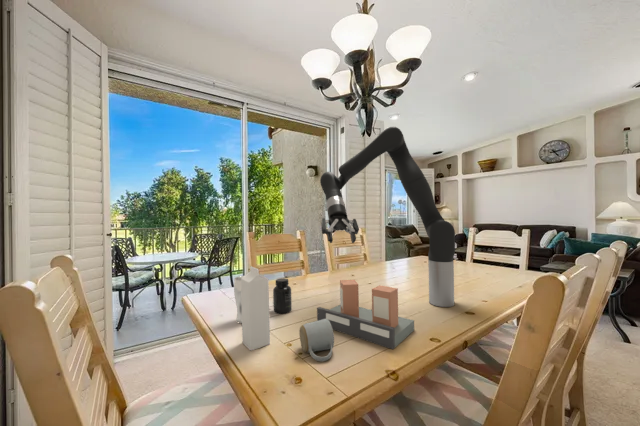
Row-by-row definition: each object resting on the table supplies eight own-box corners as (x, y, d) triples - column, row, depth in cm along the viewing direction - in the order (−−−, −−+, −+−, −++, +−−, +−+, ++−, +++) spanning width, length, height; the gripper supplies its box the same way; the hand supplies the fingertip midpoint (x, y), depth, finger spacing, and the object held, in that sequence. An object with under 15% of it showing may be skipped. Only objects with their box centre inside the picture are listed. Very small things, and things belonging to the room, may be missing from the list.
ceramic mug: (298, 345, 77) (297, 318, 77) (325, 340, 80) (324, 314, 79) (309, 366, 67) (309, 335, 67) (340, 359, 70) (339, 329, 69)
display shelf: (343, 310, 103) (343, 296, 103) (414, 329, 85) (413, 312, 85) (316, 324, 91) (316, 308, 91) (392, 349, 73) (392, 329, 73)
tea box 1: (355, 311, 94) (354, 279, 94) (359, 318, 88) (358, 284, 88) (340, 312, 93) (339, 280, 93) (343, 319, 87) (342, 284, 87)
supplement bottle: (290, 307, 108) (289, 276, 108) (292, 313, 101) (292, 281, 101) (273, 308, 106) (272, 278, 106) (274, 315, 100) (273, 282, 100)
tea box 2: (380, 319, 86) (379, 285, 86) (398, 324, 82) (397, 288, 82) (372, 325, 82) (371, 289, 82) (390, 330, 78) (389, 292, 78)
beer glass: (259, 317, 98) (258, 276, 98) (248, 325, 91) (246, 280, 91) (242, 315, 100) (241, 274, 100) (230, 323, 94) (229, 279, 93)
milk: (250, 351, 74) (248, 271, 74) (242, 342, 79) (239, 267, 79) (270, 344, 78) (268, 267, 78) (261, 336, 83) (259, 264, 83)
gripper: (320, 202, 108) (325, 235, 97) (355, 203, 110) (363, 235, 100) (318, 215, 113) (322, 247, 103) (350, 215, 116) (358, 247, 105)
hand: (342, 241), depth 101 cm, fingers open, 8 cm apart
